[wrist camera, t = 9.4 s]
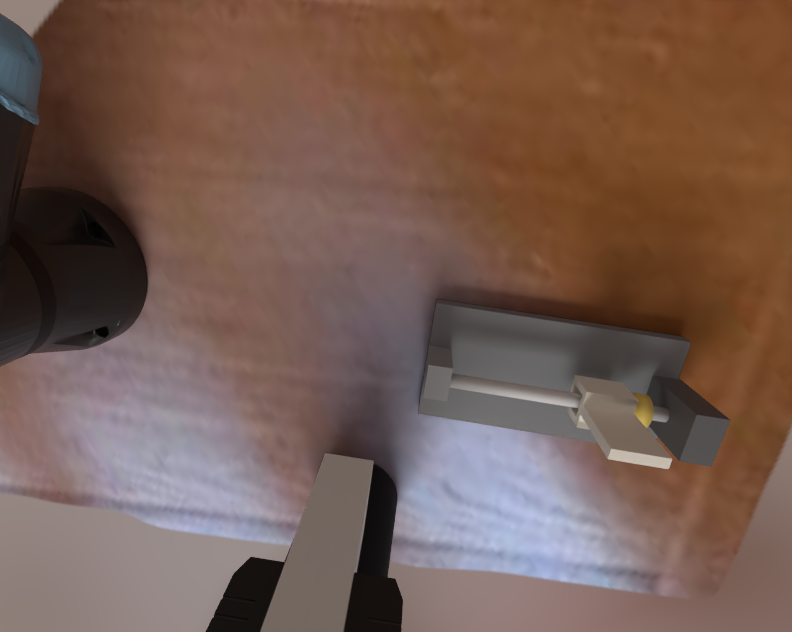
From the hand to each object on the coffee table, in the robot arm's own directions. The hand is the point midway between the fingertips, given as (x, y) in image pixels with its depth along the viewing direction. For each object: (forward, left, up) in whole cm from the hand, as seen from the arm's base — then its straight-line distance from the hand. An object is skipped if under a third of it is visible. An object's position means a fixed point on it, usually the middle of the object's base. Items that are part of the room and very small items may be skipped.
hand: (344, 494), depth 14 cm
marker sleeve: (+17, -6, -25) cm, 31 cm away
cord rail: (+14, -6, -28) cm, 32 cm away
